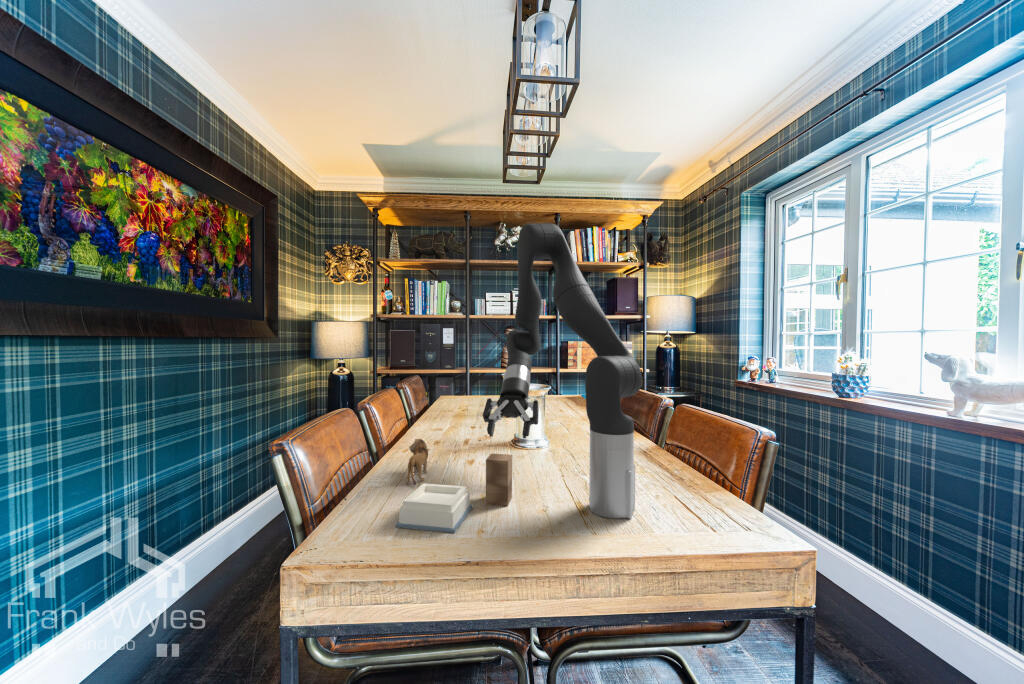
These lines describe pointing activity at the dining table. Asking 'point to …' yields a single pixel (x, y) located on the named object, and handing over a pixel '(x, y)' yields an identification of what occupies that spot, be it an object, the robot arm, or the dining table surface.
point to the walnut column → (499, 479)
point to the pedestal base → (435, 508)
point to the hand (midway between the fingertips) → (507, 435)
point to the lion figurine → (417, 460)
